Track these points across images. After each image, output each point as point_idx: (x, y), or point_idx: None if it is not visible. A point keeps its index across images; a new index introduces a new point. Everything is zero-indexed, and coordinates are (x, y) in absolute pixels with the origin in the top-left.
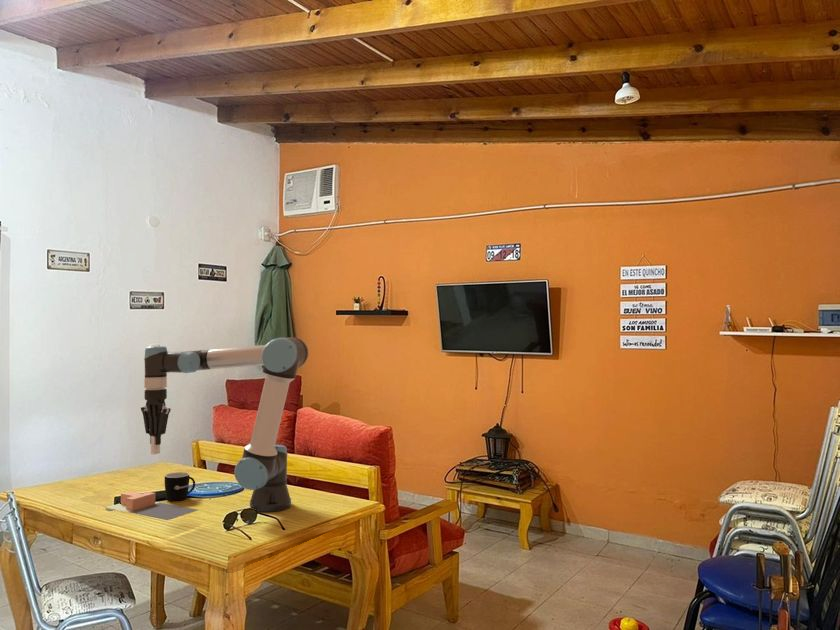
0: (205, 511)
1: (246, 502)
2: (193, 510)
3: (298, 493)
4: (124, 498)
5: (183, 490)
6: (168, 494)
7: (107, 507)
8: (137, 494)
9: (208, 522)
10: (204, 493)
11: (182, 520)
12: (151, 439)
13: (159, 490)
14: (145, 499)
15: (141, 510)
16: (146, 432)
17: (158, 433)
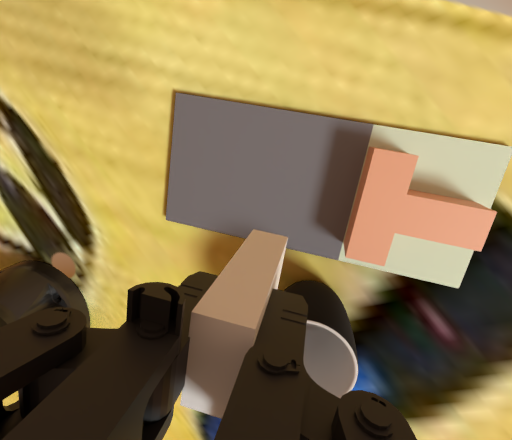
0: (157, 229)
1: None
2: (175, 209)
3: None
4: (463, 203)
5: None
6: (316, 288)
7: (505, 149)
8: (407, 220)
9: (80, 138)
10: None
11: (155, 129)
12: (257, 299)
13: (459, 409)
14: (356, 207)
15: (336, 157)
16: (376, 404)
17: (57, 314)
